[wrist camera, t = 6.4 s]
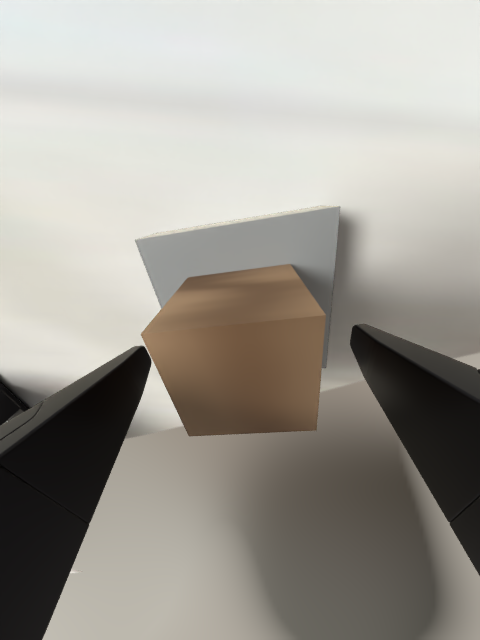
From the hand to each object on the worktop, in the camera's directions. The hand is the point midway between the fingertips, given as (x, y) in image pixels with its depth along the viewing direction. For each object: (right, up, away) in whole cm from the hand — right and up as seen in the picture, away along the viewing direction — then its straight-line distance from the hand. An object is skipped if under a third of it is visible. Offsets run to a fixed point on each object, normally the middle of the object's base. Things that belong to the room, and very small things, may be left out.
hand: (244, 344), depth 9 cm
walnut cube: (0, +1, +2) cm, 3 cm away
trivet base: (0, +3, +5) cm, 6 cm away
